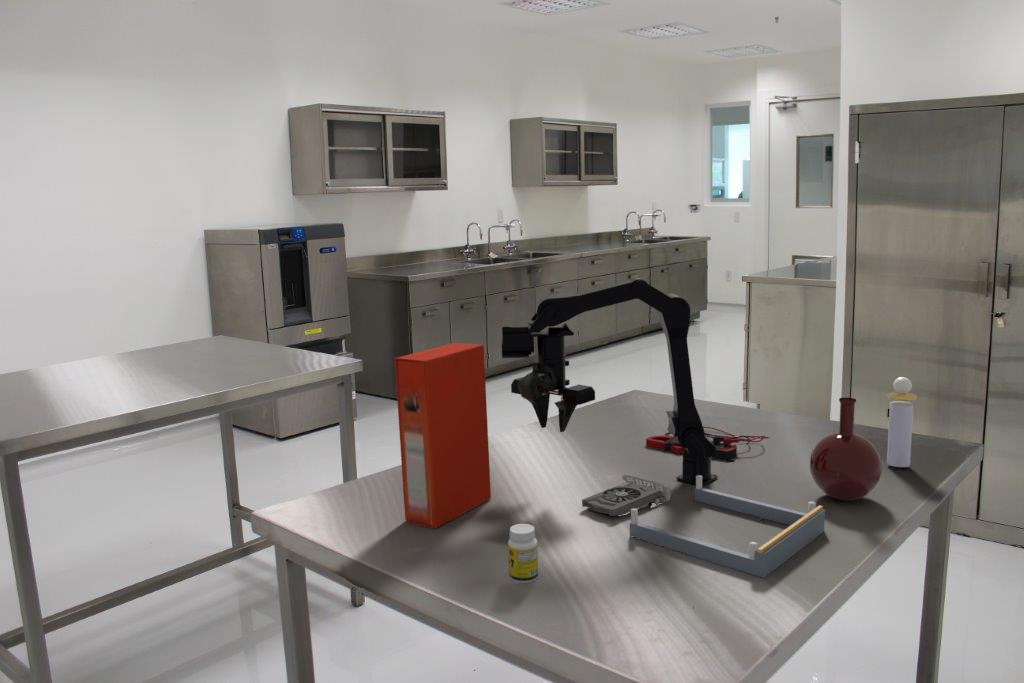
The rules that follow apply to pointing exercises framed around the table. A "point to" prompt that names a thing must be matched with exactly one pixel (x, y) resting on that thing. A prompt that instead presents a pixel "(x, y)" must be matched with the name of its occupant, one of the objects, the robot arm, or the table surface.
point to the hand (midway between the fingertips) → (552, 429)
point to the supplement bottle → (523, 554)
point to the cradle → (757, 560)
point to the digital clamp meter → (722, 449)
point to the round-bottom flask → (845, 460)
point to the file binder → (443, 432)
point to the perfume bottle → (900, 423)
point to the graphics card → (627, 497)
